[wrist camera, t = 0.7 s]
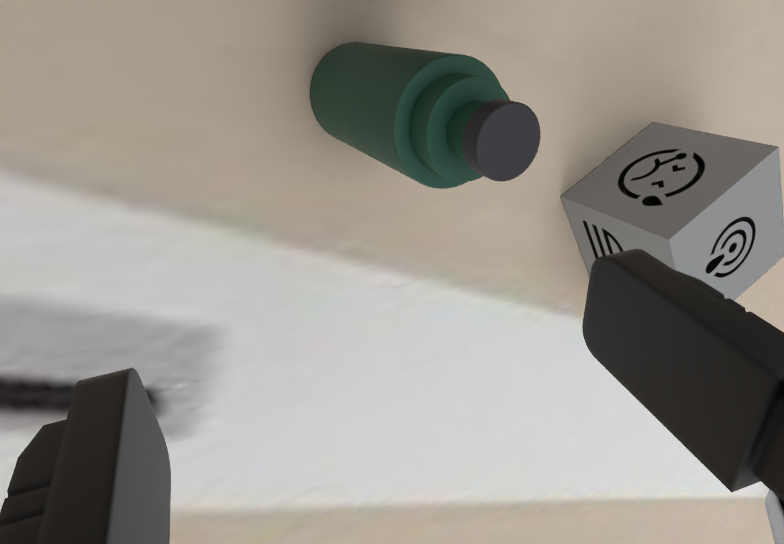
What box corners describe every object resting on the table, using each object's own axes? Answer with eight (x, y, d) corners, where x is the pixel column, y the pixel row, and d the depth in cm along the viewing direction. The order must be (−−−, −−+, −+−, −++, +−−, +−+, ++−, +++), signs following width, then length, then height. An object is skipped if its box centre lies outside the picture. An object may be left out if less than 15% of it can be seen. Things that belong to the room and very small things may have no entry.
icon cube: (592, 283, 48) (691, 338, 40) (560, 196, 43) (669, 239, 34) (673, 215, 49) (785, 254, 41) (652, 122, 44) (778, 146, 36)
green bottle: (307, 42, 30) (448, 63, 18) (398, 42, 32) (580, 60, 20) (311, 145, 32) (439, 225, 20) (396, 138, 35) (558, 206, 22)
